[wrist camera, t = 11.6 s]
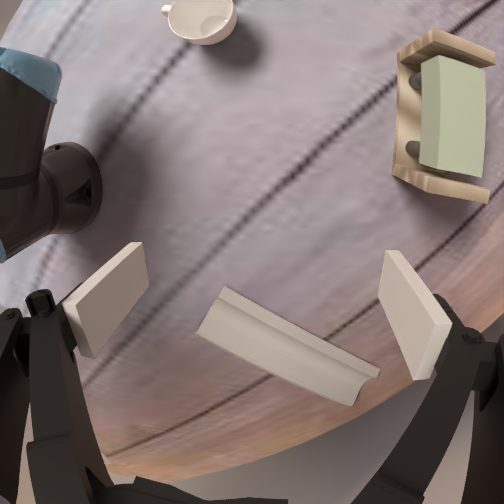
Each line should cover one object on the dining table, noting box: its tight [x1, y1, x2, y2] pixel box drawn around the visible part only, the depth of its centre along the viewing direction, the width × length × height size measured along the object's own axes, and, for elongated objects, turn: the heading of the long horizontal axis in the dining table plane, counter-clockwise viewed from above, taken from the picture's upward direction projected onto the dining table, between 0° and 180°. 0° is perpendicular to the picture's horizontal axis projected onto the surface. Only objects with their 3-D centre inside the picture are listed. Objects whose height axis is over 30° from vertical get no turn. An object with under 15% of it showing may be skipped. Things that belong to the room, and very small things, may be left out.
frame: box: [392, 28, 496, 204], centre depth 27 cm, size 17×8×12 cm, turn 178°
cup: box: [161, 0, 237, 45], centre depth 29 cm, size 8×10×7 cm
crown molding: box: [194, 286, 380, 407], centre depth 48 cm, size 31×12×4 cm, turn 60°
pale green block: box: [419, 55, 486, 178], centre depth 25 cm, size 12×6×5 cm, turn 0°
